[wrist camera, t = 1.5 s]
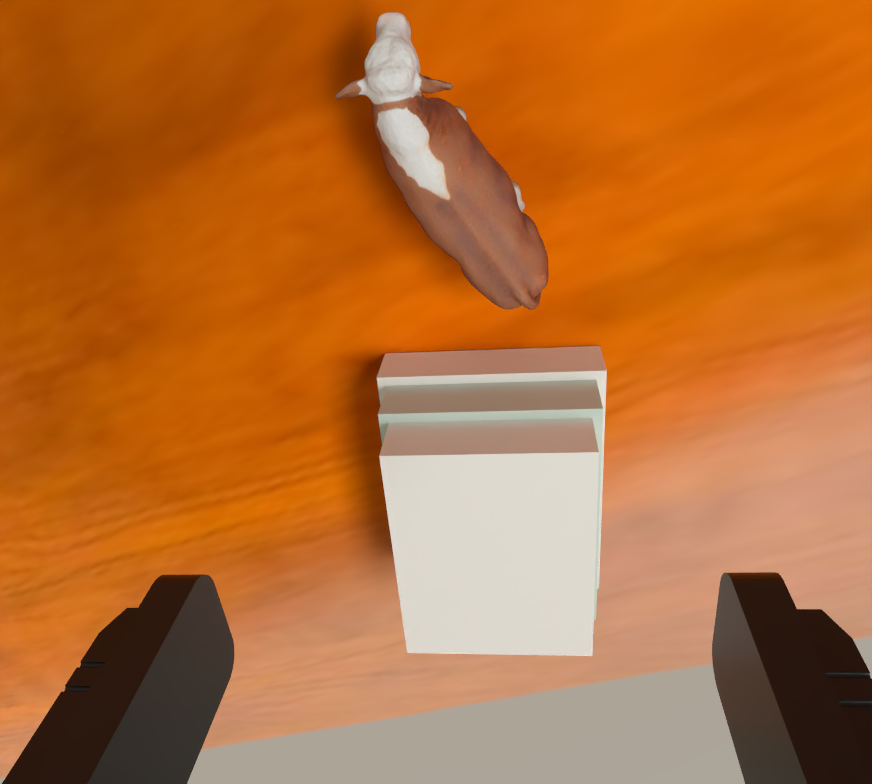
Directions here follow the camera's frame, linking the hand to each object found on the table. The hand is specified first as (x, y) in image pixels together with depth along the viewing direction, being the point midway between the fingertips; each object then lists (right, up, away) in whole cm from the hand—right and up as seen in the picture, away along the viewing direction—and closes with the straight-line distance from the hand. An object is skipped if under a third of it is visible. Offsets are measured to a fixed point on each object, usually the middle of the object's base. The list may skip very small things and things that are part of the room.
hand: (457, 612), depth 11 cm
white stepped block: (+3, -1, +32) cm, 32 cm away
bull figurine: (+1, +15, +24) cm, 28 cm away
